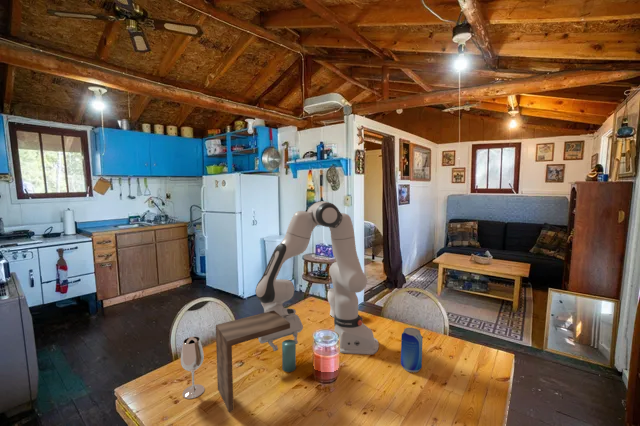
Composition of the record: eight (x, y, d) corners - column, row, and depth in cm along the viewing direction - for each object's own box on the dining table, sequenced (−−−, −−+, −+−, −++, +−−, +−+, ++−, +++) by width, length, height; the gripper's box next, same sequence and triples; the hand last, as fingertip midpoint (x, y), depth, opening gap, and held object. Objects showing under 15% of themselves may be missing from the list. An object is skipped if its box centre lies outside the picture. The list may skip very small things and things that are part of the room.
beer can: (397, 367, 125) (397, 331, 123) (406, 359, 131) (407, 324, 129) (416, 376, 119) (417, 338, 118) (425, 367, 125) (426, 330, 124)
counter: (217, 388, 111) (215, 324, 109) (274, 367, 125) (273, 310, 122) (228, 412, 100) (227, 341, 98) (290, 386, 113) (289, 323, 111)
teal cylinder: (297, 365, 126) (297, 340, 126) (292, 373, 121) (292, 347, 120) (285, 363, 128) (285, 338, 127) (280, 370, 123) (279, 345, 122)
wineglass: (196, 400, 105) (194, 346, 104) (177, 397, 107) (174, 344, 105) (209, 386, 113) (207, 336, 111) (190, 383, 114) (188, 334, 113)
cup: (328, 310, 183) (328, 287, 181) (345, 311, 181) (345, 287, 180) (326, 318, 172) (326, 293, 171) (344, 319, 171) (344, 294, 169)
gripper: (255, 319, 125) (265, 351, 118) (298, 308, 136) (309, 337, 129) (252, 325, 129) (261, 357, 122) (293, 314, 141) (303, 343, 133)
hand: (286, 347), depth 126 cm, fingers open, 8 cm apart
